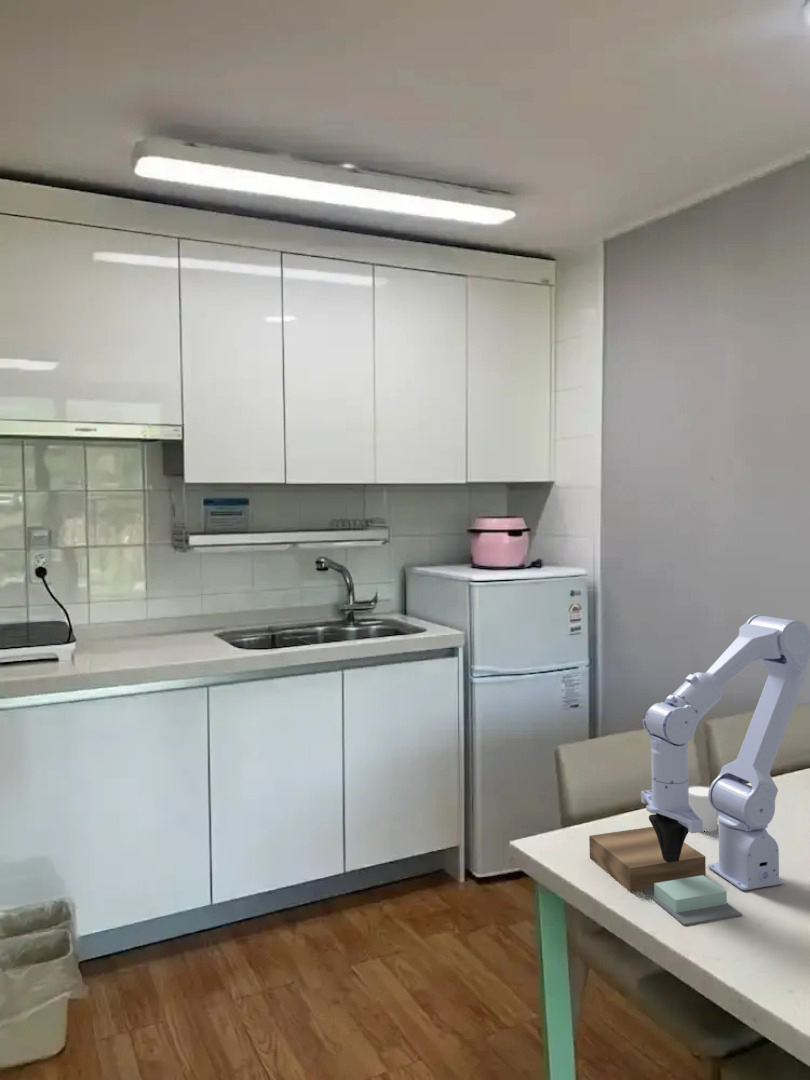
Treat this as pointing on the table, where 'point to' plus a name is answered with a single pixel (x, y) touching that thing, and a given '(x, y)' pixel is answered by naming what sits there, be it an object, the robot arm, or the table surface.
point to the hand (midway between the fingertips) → (671, 860)
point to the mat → (697, 911)
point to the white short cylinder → (703, 807)
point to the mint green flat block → (690, 893)
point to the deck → (642, 859)
